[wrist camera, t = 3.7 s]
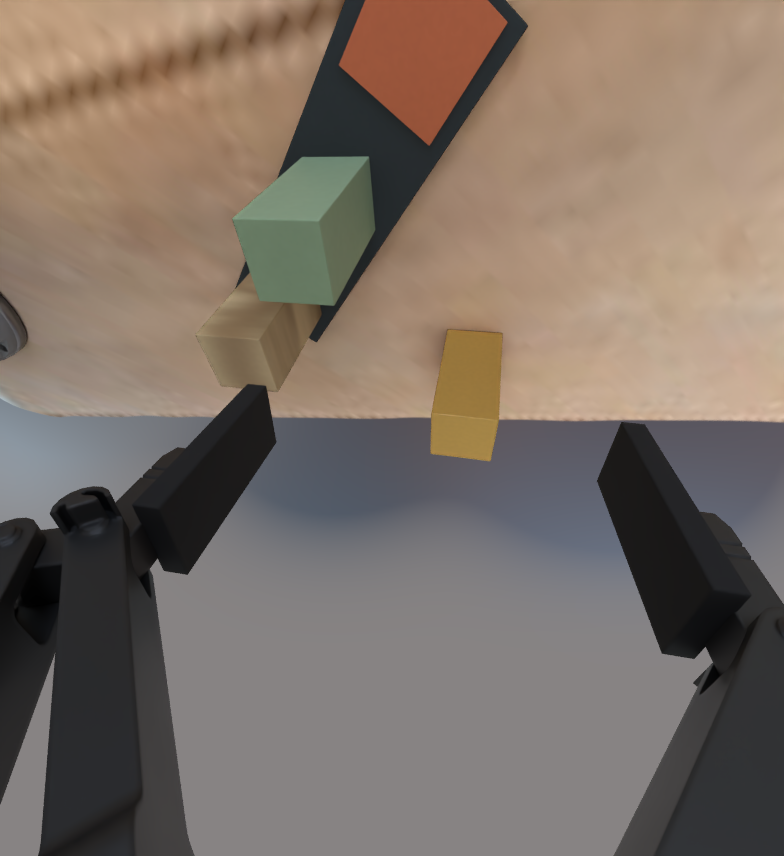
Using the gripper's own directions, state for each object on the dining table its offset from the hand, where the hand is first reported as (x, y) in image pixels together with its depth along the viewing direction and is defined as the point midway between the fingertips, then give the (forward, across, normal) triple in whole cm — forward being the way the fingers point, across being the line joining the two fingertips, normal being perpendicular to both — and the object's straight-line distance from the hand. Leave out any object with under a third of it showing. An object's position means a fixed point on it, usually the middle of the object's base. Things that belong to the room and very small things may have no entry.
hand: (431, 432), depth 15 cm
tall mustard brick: (+24, +2, -7) cm, 26 cm away
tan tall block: (+23, -15, -2) cm, 28 cm away
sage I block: (+21, -9, +6) cm, 24 cm away
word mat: (+22, -9, +6) cm, 24 cm away
